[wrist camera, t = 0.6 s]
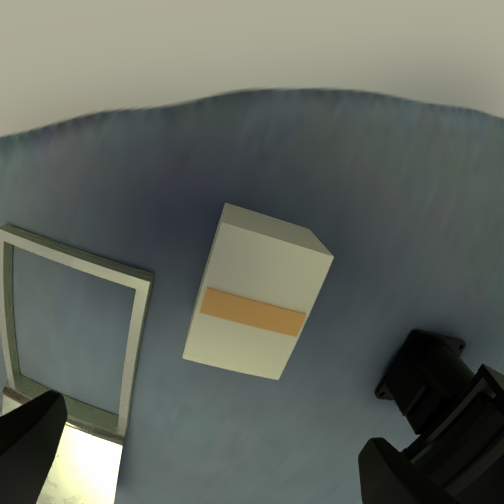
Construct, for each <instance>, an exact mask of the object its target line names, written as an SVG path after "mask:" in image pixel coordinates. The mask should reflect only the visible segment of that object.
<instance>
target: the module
mask: <svg viewBox="0 0 504 504" xmlns="http://www.w3.org/2000/svg"><path fill="white" fill-rule="evenodd" d="M333 258H334V256H333V255H332V254H331V253H330V252H329V251H328V250H327V248H326V247H325V246H324V245H323V244H322V243H321V242H320V241H319V239H318V238H317V237H316V236H315V235H314V234H313V233H312V232H311V230H310V229H307V228H304V227H301V226H298V225H295V224H292V223H289V222H286V221H283V220H280V219H277V218H274V217H270V216H267V215H264V214H261V213H258V212H254V211H251V210H248V209H245V208H242V207H238V206H235V205H232V204H229V203H225V204H224V208H223V211H222V214H221V217H220V220H219V224H218V227H217V230H216V233H215V237H214V240H213V243H212V247H211V250H210V253H209V257H208V260H207V263H206V267H205V270H204V274H203V277H202V280H201V284H200V287H199V291H198V294H197V298H196V301H195V305H194V309H193V312H192V317H191V321H190V325H189V330H188V334H187V339H186V343H185V348H184V352H183V357H182V358H184V359H188V360H191V361H195V362H199V363H203V364H207V365H211V366H215V367H219V368H223V369H228V370H232V371H236V372H241V373H245V374H250V375H255V376H260V377H265V378H270V379H275V380H279V378H280V376H281V374H282V372H283V370H284V368H285V365H286V363H287V361H288V359H289V357H290V355H291V353H292V351H293V349H294V347H295V345H296V342H297V340H298V338H299V336H300V334H301V332H302V330H303V327H304V325H305V323H306V321H307V319H308V316H309V314H310V312H311V310H312V307H313V305H314V303H315V301H316V298H317V296H318V294H319V291H320V289H321V287H322V284H323V282H324V280H325V277H326V275H327V272H328V270H329V268H330V265H331V263H332V260H333Z"/></svg>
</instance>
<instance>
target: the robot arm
mask: <svg viewBox="0 0 504 504" xmlns="http://www.w3.org/2000/svg"><path fill="white" fill-rule="evenodd" d="M416 336H417V337H416ZM415 337H416V338H415ZM465 346H466V343H465V342H464V341H463V340H461V339H457V338H452V337H448V336H443V335H439V334H434V333H430V332H426V331H421V330H414V331H413V332H411V334H410V335H409V337H408V339H407V341H406V342H405V344H404V346H403V348H402V349H401V351H400V353H399V354H398V356H397V358H396V359H395V361H394V363H393V364H392V366H391V368H390V369H389V371H388V372H387V374H386V375H385V377H384V379H383V380H382V382H381V383H380V385H379V386H378V388H377V389H376V391H375V395H376V397H377V398H378V399H386V400H394V401H395V403H396V404H397V406H398V408H399V410H400V411H401V413H402V415H403V416H405V417H406V418H407V420H408V422H409V424H410V425H411V427H412V429H413V431H414V433H415V434H416V435H419V434H420V436H419V437H418V438H417V439H416V440H415V441H414V442H413V443H412V444H411V445H410V446H408V447H407V448H405V449H404V450H402V451H401V452H399V451H398V450H397V449H395V448H394V447H393V446H392V445H391V444H390V443H389V442H387V441H386V440H385V439H384V438H381V437H378V438H371V439H369V440H368V441H367V443H366V445H365V446H364V448H363V449H362V450H361V452H360V454H359V457H358V464H359V473H360V484H361V495H362V502H363V504H504V375H502V374H501V373H499V372H497V371H495V370H494V369H492V368H490V367H488V366H486V365H485V364H482V365H481V366H480V368H479V369H478V372H477V373H476V375H475V374H474V373H473V372H472V371H471V370H470V369H469V368H468V366H467V365H466V364H465V363H464V362H463V361H462V360H461V359H460V358H459V356H460V355H461V353H462V351H463V350H464V348H465ZM67 417H68V412H67V408H66V404H65V399H64V396H63V394H61V393H59V392H56V391H54V390H48V391H46V392H45V393H43V394H41V395H39V396H37V397H36V398H34V399H32V400H30V401H28V402H27V403H25V404H23V405H21V406H19V407H17V408H16V409H14V410H12V411H10V412H8V413H6V414H5V415H3V416H1V417H0V504H36V503H37V500H38V498H39V495H40V493H41V490H42V488H43V485H44V483H45V480H46V478H47V476H48V473H49V471H50V469H51V466H52V464H53V462H54V459H55V456H56V453H57V450H58V446H59V443H60V440H61V436H62V433H63V430H64V427H65V424H66V421H67Z"/></svg>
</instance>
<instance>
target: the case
mask: <svg viewBox="0 0 504 504" xmlns="http://www.w3.org/2000/svg"><path fill="white" fill-rule="evenodd" d="M13 245H15V246H17V247H20V248H22V249H25V250H27V251H30V252H33V253H35V254H38V255H40V256H43V257H45V258H48V259H51V260H53V261H56V262H59V263H62V264H64V265H67V266H70V267H72V268H75V269H78V270H81V271H84V272H87V273H89V274H92V275H95V276H98V277H101V278H104V279H107V280H110V281H113V282H116V283H119V284H122V285H125V286H128V287H131V288H134V289H136V294H135V299H134V305H133V310H132V316H131V322H130V328H129V335H128V341H127V348H126V355H125V363H124V371H123V379H122V388H121V397H120V408H119V416H118V415H115V414H112V413H109V412H106V411H104V410H101V409H98V408H95V407H93V406H90V405H87V404H85V403H82V402H80V401H77V400H75V399H72V398H70V397H67V396H65V395H63V396H64V399H65V404H66V408H67V412H68V417H67V421H66V424H65V427H64V430H63V433H62V436H61V440H60V443H59V446H58V450H57V453H56V456H55V459H54V462H53V464H52V466H51V469H50V471H49V473H48V476H47V478H46V480H45V483H44V485H43V488H42V490H41V493H40V495H39V498H38V500H37V503H36V504H114V500H115V493H116V486H117V479H118V472H119V466H120V460H121V454H122V448H123V443H124V438H125V434H126V431H127V428H128V425H129V418H130V410H131V402H132V395H133V388H134V381H135V374H136V368H137V362H138V356H139V350H140V344H141V339H142V333H143V328H144V323H145V318H146V313H147V308H148V303H149V298H150V293H151V289H152V284H153V279H154V275H155V274H153V273H149V272H146V271H143V270H140V269H137V268H133V267H130V266H127V265H124V264H121V263H118V262H115V261H112V260H109V259H106V258H103V257H100V256H97V255H94V254H91V253H88V252H85V251H82V250H79V249H76V248H73V247H70V246H67V245H64V244H62V243H59V242H56V241H53V240H50V239H47V238H45V237H42V236H39V235H36V234H34V233H31V232H28V231H26V230H23V229H20V228H17V227H15V226H12V225H10V224H5V225H3V226H1V227H0V331H1V339H2V346H3V353H4V359H5V365H6V370H7V376H8V380H7V382H6V383H5V387H4V389H3V409H2V416H3V415H5V414H6V413H8V412H10V411H12V410H14V409H16V408H17V407H19V406H21V405H23V404H25V403H27V402H28V401H30V400H32V399H34V398H36V397H37V396H39V395H41V394H43V393H45V392H46V391H48V390H51V389H49V388H47V387H45V386H42V385H40V384H38V383H36V382H34V381H32V380H30V379H28V378H26V377H24V376H22V375H20V370H19V363H18V356H17V347H16V338H15V327H14V313H13V288H12V262H13Z"/></svg>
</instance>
